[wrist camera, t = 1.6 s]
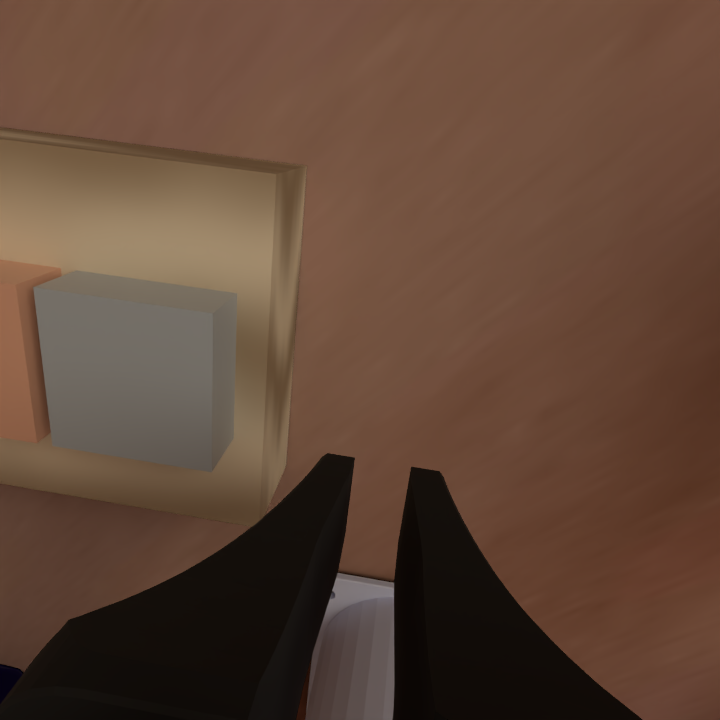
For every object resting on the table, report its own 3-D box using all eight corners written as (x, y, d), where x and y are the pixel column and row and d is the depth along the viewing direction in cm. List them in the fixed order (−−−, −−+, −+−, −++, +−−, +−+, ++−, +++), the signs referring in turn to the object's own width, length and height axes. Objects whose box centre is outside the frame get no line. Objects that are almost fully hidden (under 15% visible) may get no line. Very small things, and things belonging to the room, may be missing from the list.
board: (286, 466, 23) (258, 528, 20) (-28, 414, 24) (-110, 464, 21) (306, 165, 19) (276, 174, 15) (-82, 117, 20) (-199, 113, 16)
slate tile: (233, 438, 19) (211, 472, 17) (89, 415, 19) (52, 445, 17) (237, 293, 17) (213, 313, 15) (76, 270, 17) (33, 287, 15)
